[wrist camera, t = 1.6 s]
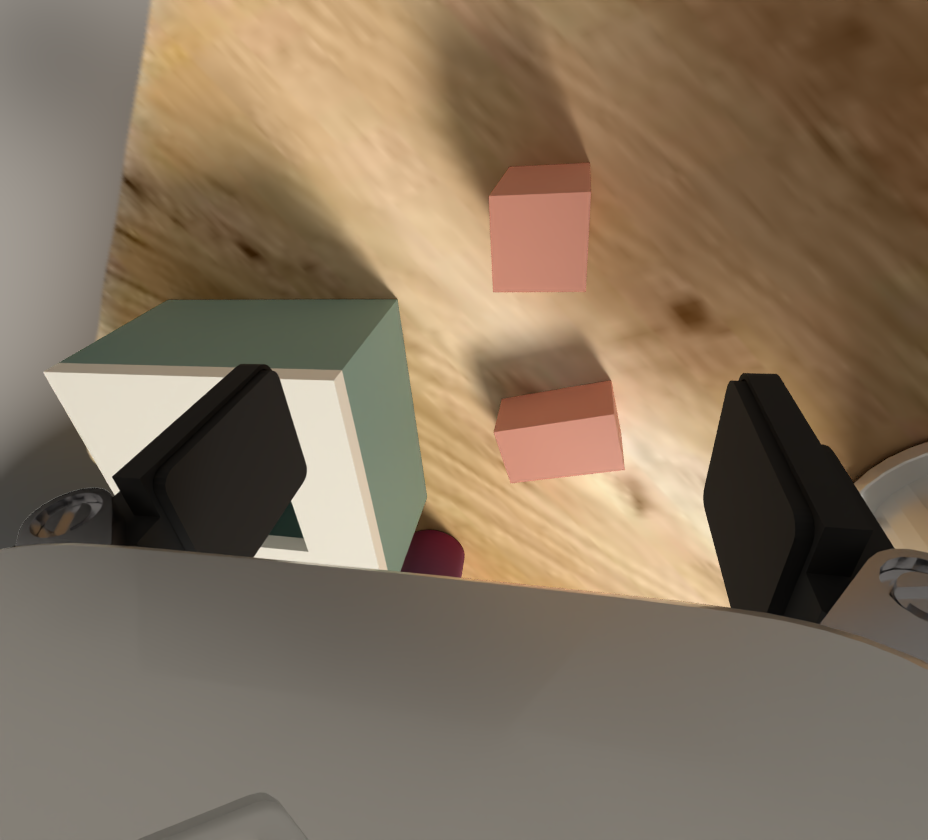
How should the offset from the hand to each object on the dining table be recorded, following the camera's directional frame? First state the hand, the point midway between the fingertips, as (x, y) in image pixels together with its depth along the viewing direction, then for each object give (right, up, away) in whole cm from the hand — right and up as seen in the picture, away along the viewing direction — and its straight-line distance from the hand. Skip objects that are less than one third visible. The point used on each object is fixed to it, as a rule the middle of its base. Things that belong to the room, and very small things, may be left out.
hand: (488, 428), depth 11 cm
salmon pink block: (+4, +11, +16) cm, 20 cm away
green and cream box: (-12, +1, +27) cm, 29 cm away
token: (+6, +1, +24) cm, 24 cm away
